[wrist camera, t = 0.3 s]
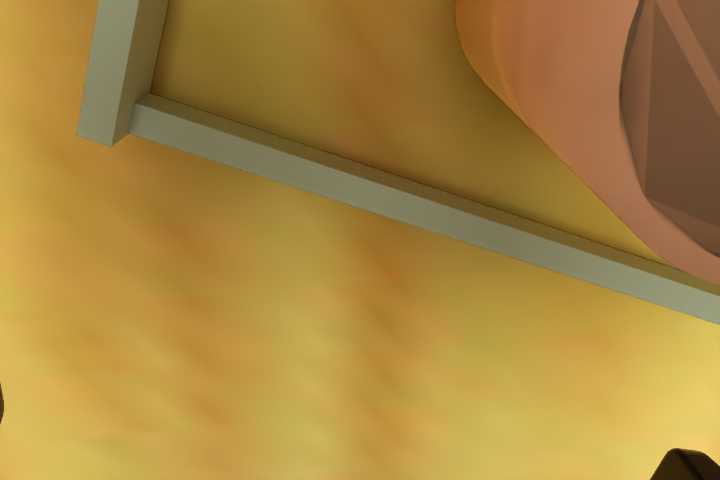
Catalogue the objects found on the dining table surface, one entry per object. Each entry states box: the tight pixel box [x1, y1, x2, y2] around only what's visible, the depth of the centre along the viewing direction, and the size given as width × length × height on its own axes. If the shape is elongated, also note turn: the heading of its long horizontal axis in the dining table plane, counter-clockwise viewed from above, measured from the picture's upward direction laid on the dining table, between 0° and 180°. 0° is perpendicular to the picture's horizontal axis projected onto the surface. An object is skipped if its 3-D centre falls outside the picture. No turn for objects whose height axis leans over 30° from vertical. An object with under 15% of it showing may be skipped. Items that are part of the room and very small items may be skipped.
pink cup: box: [455, 0, 720, 285], centre depth 14 cm, size 7×7×12 cm
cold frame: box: [76, 0, 720, 325], centre depth 15 cm, size 15×25×10 cm, turn 71°
